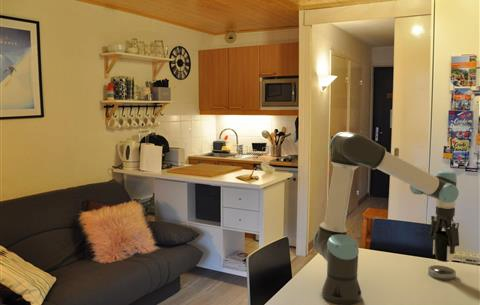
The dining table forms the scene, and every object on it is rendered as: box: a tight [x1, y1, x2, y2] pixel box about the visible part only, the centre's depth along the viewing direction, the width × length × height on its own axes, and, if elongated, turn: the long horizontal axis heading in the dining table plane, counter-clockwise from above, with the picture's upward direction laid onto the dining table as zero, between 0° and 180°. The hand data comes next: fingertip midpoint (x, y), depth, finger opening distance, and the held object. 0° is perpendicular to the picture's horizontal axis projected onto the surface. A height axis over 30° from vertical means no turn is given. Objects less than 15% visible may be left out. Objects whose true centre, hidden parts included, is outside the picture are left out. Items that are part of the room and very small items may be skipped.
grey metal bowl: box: [427, 265, 457, 282], centre depth 189 cm, size 11×11×3 cm
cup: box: [435, 230, 450, 263], centre depth 188 cm, size 8×8×12 cm
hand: (442, 256), depth 188 cm, fingers closed on cup, 8 cm apart
